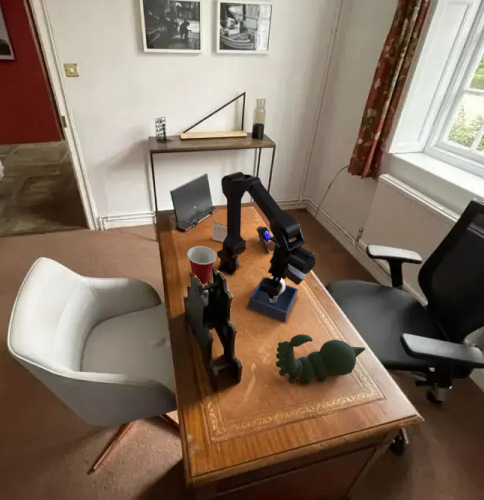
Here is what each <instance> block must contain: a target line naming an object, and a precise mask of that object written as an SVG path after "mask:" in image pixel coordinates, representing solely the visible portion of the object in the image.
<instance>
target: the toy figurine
mask: <svg viewBox="0 0 484 500" xmlns="http://www.w3.org/2000/svg"><path fill="white" fill-rule="evenodd" d="M313 341H314V340H313V338H312V337H311V335H308V334H304V333H303V334H296V335H293V336H292V337H291V338H290V340H289V341H288V340H283V341H279V342H277V347H276V352H277V353H276V354H275V358H276V359H277V361H276V362H275V367H277V368H279V369H280V370H278V375H279V376H280V377H285V376H286V374H287V375H288V378H287V381H288V382H289V383H290V384H292V385H293V384H295V383H296V382H297V379H299V380H302V384H304V385H305V386H308V385H310V383H311V380H313V379H314V378H316V379H317V381H318V382H320V383H326V382H327V379H328V378H327V376H328V375H329V374H330V375H332V376H337V377H342V376H347V375H348V374H351V373H353V370H354V369H355V367H356V364H357V357H358V356H360V355H361V354H362V353H363V352H364V351H365V350H366V347H364V346H351V345H350V344H349V343H347V342H346V341H344V340H341V339H331V340H327V341H326V342H324V343H323V344H322V345H321V347H320V349H319V350H316V351H315V350H314V351H312V352H309V354H308V355H307V356H300V357H298V358H296V357H295V351H294V350H295V348H297V347H300V346H301V345H304V344H307V343H309V342H313ZM294 347H295V348H294Z"/></svg>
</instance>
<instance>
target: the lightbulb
mask: <svg viewBox="0 0 484 500" xmlns="http://www.w3.org/2000/svg"><path fill="white" fill-rule="evenodd" d="M269 278H270V279H273V276H271V277H269ZM280 283H281V284H282V289H281V291H280V293H279V295H280V294H281V293H283V292H284V290H285V286H286V285H287V284H286V282H285V279H281V281H280ZM279 295H278V296H279ZM278 296H274V297H273V299H271V298H269V301H270V302H271V303H276V302H277V298H278Z"/></svg>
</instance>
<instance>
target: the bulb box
mask: <svg viewBox="0 0 484 500" xmlns="http://www.w3.org/2000/svg"><path fill="white" fill-rule="evenodd" d="M264 278H266V276H262V278H261V279H260V281H259V283H258V284H257V286H256V287H255V289H254V291H253V292H252V293H251V295H250V297H249V299H248V305H247V308H248V309H249V310H252V311H255V312H258V313H260V314H262V315H265V316H267V317H270V318H272V319H275V320H278V321H280V322H283V323H285V322H286V320H287V318H288V316H289V314H290V312H291V309H292V307H293V305H294V303H295V301H296V298H297V295H298V290H299V289H298V288H296V287H293V286H292V285H288V284H285V285H286V286H285V290H284V292H283V293H281V294H280V295H279V296H278V298H277V302H276V303H271V302H270V301H269V296H268V294H267V293H265V292H263V291H260V289H259V288H260V284H261V282H262V281H263V279H264Z"/></svg>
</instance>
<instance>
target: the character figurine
mask: <svg viewBox="0 0 484 500" xmlns="http://www.w3.org/2000/svg"><path fill="white" fill-rule="evenodd" d="M256 232H257V234H258V238H259V242H260V243H261V245H262V247H263V249H264V251H265V252H266V254H269V251H270V252H273V250H274V245H275V243H274V242H273V241H271V240H270V239H269V238H271V237H272V236H271V235H272V234H271V233H270V232H271V230H270V228H268V227H267V226H258V227H256Z"/></svg>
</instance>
